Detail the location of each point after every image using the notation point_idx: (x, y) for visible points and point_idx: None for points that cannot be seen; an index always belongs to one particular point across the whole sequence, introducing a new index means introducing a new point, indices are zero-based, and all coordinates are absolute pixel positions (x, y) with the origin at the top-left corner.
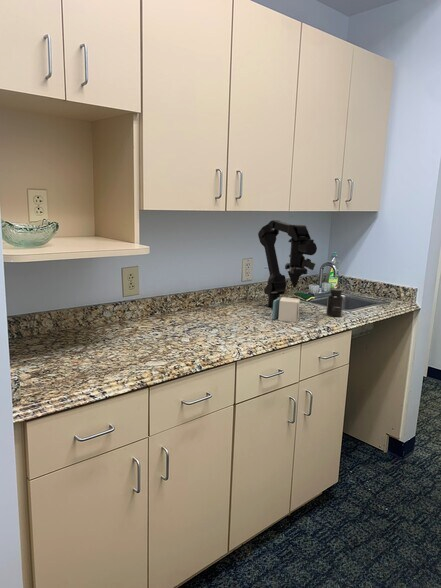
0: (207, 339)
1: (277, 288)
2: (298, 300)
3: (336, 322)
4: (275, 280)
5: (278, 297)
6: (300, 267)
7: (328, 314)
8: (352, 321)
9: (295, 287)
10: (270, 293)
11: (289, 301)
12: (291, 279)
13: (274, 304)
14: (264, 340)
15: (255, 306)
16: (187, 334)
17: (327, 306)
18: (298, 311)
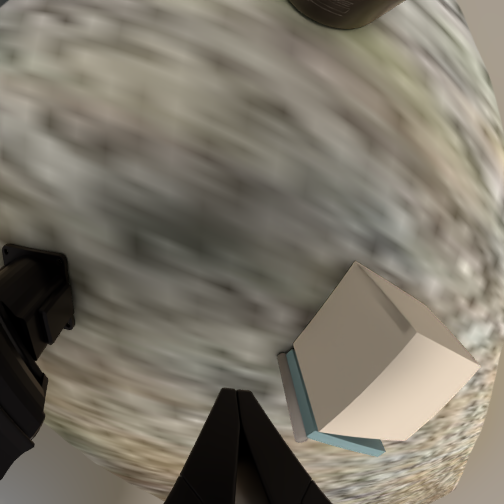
0: (417, 472)
1: (30, 389)
2: (451, 357)
3: (475, 105)
4: (9, 453)
5: (296, 438)
6: None
7: (349, 28)
8: (460, 14)
9: (247, 391)
10: (46, 385)
11: (440, 405)
12: None
13: (379, 439)
14: (478, 409)
15: (63, 369)
16: (378, 492)
17: (348, 4)
18: (425, 315)
